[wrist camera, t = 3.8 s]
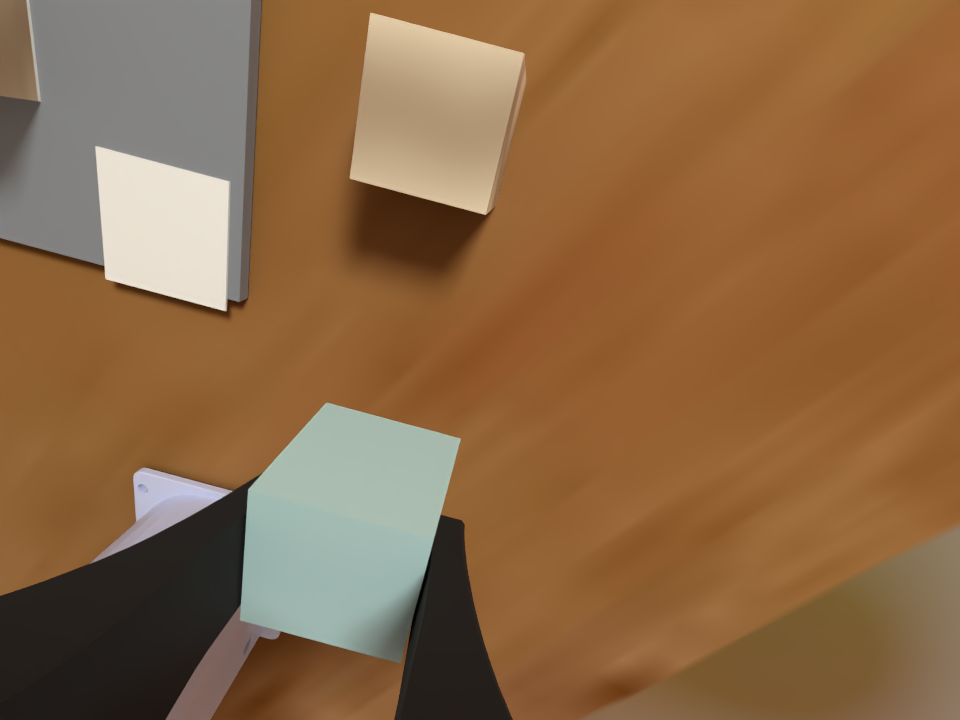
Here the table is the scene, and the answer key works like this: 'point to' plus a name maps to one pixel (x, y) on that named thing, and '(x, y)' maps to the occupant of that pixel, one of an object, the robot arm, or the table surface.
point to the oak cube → (16, 52)
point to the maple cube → (436, 114)
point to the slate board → (138, 142)
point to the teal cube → (345, 530)
